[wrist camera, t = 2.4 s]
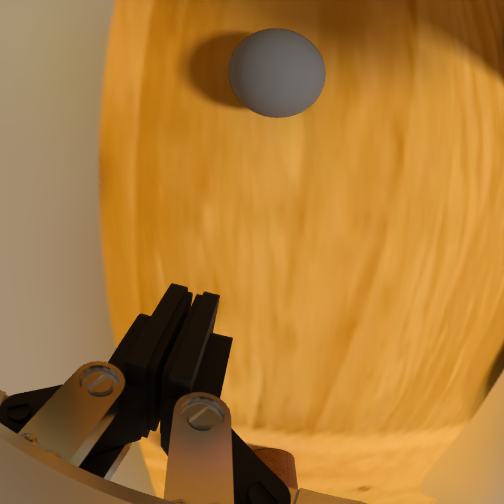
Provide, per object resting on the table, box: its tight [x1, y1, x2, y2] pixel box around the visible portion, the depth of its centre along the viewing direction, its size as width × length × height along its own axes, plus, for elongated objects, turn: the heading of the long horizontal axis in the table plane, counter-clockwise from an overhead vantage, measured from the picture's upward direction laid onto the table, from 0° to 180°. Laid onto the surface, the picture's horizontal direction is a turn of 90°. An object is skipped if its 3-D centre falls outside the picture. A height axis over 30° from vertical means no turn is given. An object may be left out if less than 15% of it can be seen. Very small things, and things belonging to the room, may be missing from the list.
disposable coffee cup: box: [254, 449, 298, 490], centre depth 30 cm, size 10×10×12 cm
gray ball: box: [229, 28, 325, 118], centre depth 16 cm, size 6×6×6 cm
